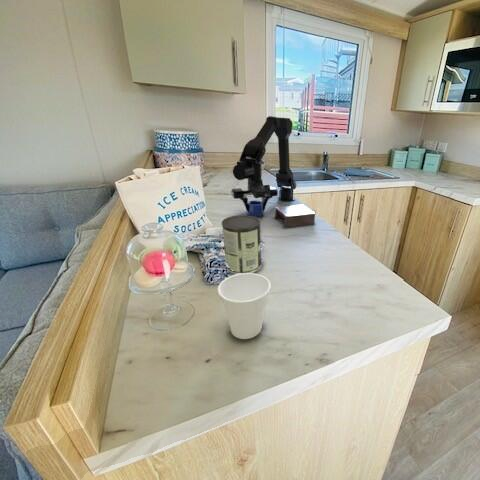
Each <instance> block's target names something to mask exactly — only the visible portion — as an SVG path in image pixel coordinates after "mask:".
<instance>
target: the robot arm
mask: <svg viewBox="0 0 480 480" xmlns="http://www.w3.org/2000/svg"><path fill="white" fill-rule="evenodd" d="M292 132H293V121H292V120H291V118H289V117H280V116H272V115H268V116H267V117H266V118H265V122H264V124H263V125H262V127H260V130H259V131H258V133H257V134H256V136H255V137H254V138H252V139H250V140H249V141H247V142H246V143H245V145H244V146H243V149H242V152H241V155H240V157H239V159H238V161H236V165H235V166H234V167H233V169H232V175H233V177H234V179H236V180H238V181H243V180H247V189H246V190H243V189H242V188H241V187H239V188H232V189H231V190H230V194H231V196H232V198H233V199H235V200H236V199H237V200H240V201H242V202H243V205H244V208H245V210H246V212H247V213H248V212H249V208H248V202H249V198H248V197H247V196H253V198H255V199H260V198H261V202H263V212H264V211H265V210H266V206H267V204H268V201H269V200H270V199H272V198H273V197H278V198H279V200H281V201H282V202H289V201H290V202H291V201H295V198H294V190H296V189H297V182H296V180H295V178H294V173H293V171H292V170H291V168H290V142H289V141H290V139H289V138H290V136H291V134H293V133H292ZM274 134H275V136H276V138H277V143H278V145H277V146H278V162H279V164H278V165H279V168H278V171H277V172H276V173H275V181H276V187H277V188H279V190H278V189H277V188H276V187H274V186H271V185H270V184H264V181H263V179H262V178H263V177H262V175H263V174H262V173H263V172H262V165H264V164H265V162H264V161H263V160H262V159H263V158H264V156H265V154H266V151H267V150H266V148H267V147H266V146H267V144H268V143H269V141H270V139H271V137H273V135H274Z"/></svg>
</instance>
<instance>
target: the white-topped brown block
mask: <svg viewBox="0 0 480 480" xmlns="http://www.w3.org/2000/svg"><path fill="white" fill-rule="evenodd" d="M315 218H316V213H315V212H314V211H313V210H312V209H310V208H308V207H307V206H306V205H304V204H295V205H284V206H275V207H274V219H276V220H278V219H279V220H280V219H284V228H285V229H291V228H297V227H306V226H313V225H315V222H316V221H315V220H316V219H315Z"/></svg>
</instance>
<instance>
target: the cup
mask: <svg viewBox="0 0 480 480" xmlns="http://www.w3.org/2000/svg"><path fill="white" fill-rule="evenodd" d="M271 285H272V284H271V282H270V280H269V279H268V278H267V277H266V276H264V275H262V274H259V273H256V272H254V273H240V274H233V275H230V276H227V277H226V278H224V279H223V280H222V281H221V282H220V283H219V284H218V287H217V293H218V296H219V297H220V300H221V303H222V306H223V309H224V313H225V315H226V319H227V322H228V325H229V329H230V331H231V334H232V336H233V337H235V338H237V339H240V340H249V339H252V338H254V337H257V336H258V335H259V334H260V333H261V331H262V328H263V324H264V323H263V322H264V317H265V312H266V306H267V304H268V303H267V302H268V298H269V292H270V291H271V287H272V286H271Z"/></svg>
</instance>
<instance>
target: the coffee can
mask: <svg viewBox="0 0 480 480" xmlns="http://www.w3.org/2000/svg"><path fill="white" fill-rule="evenodd" d="M261 224H262V221H261V219H260V218H259V217H257V216H251V215H247V214H246V215H245V214H243V215H242V214H240V215H239V214H238V215H232V216H229V217H225V218H224V219H223V220H222V221H221V226H222V236H223V248H224V259H225V260H224V261H225V264H226V263H227V264H228V266H229V267H230V269H232V270H233V271H232V270H230V269H228V268H227V269H226V271H227V272H228V273H230V274H233V275H235V274H240V273H256V272H258V271H259V270H260V269H261V268H262V243H261V241H262V239H261V238H262V237H261Z"/></svg>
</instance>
